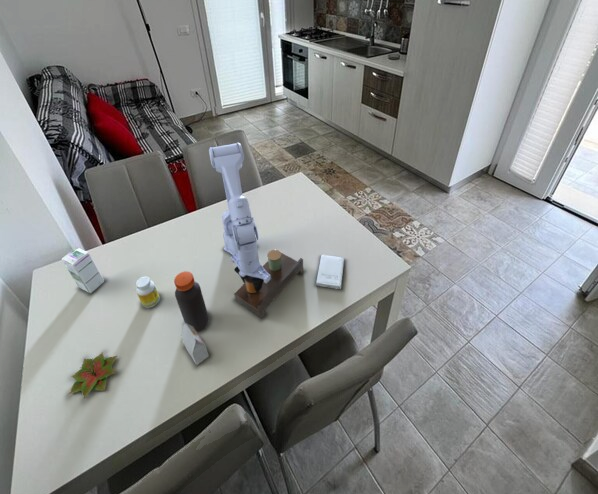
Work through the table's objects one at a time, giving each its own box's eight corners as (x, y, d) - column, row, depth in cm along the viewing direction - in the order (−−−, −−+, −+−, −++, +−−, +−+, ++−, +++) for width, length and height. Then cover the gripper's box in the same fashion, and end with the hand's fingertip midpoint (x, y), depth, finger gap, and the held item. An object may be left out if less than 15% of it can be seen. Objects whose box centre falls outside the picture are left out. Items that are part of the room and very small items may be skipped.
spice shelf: (235, 300, 106) (233, 287, 102) (278, 257, 121) (277, 245, 117) (261, 318, 100) (259, 306, 97) (303, 271, 115) (303, 259, 112)
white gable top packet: (196, 365, 89) (189, 345, 84) (185, 347, 94) (177, 326, 88) (208, 356, 91) (202, 335, 86) (197, 338, 96) (190, 318, 90)
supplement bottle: (141, 297, 107) (132, 278, 102) (158, 291, 109) (151, 272, 104) (142, 311, 103) (133, 291, 98) (160, 304, 105) (152, 284, 100)
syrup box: (105, 281, 113) (89, 251, 105) (89, 294, 109) (72, 264, 100) (93, 275, 115) (77, 246, 107) (78, 288, 111) (60, 258, 103)
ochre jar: (242, 288, 105) (240, 277, 102) (252, 279, 108) (251, 267, 105) (253, 295, 103) (251, 284, 100) (263, 285, 106) (262, 274, 103)
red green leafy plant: (109, 398, 83) (102, 389, 80) (59, 403, 82) (51, 394, 80) (126, 350, 93) (121, 341, 90) (82, 354, 92) (75, 345, 90)
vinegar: (188, 336, 96) (172, 293, 85) (183, 317, 101) (168, 274, 90) (211, 326, 99) (199, 282, 88) (205, 308, 104) (193, 265, 93)
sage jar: (265, 267, 112) (264, 255, 109) (274, 258, 116) (273, 247, 112) (276, 273, 110) (275, 262, 107) (284, 264, 113) (283, 253, 110)
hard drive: (343, 260, 119) (340, 289, 109) (321, 257, 120) (316, 285, 110) (344, 257, 118) (341, 286, 108) (321, 254, 119) (316, 282, 109)
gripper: (221, 253, 98) (227, 282, 106) (257, 276, 91) (261, 306, 99) (238, 239, 103) (243, 268, 110) (274, 260, 96) (276, 289, 103)
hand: (252, 285), depth 105 cm, fingers closed on ochre jar, 4 cm apart
